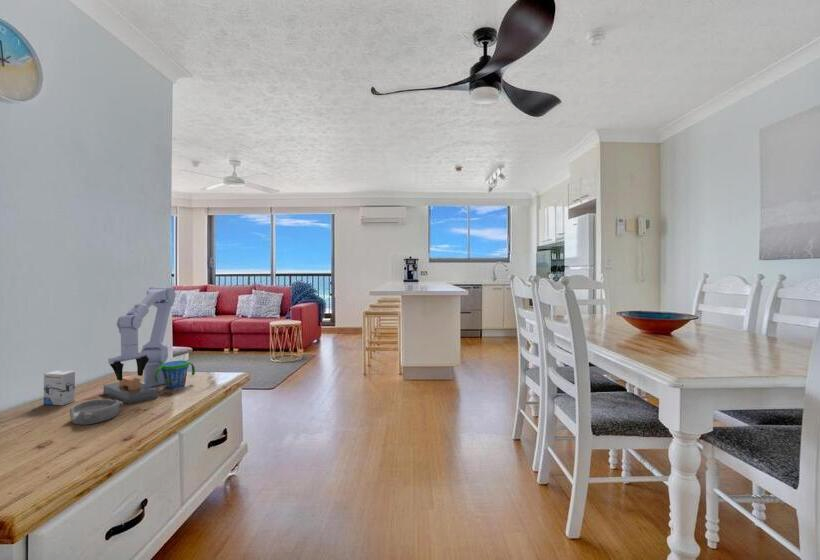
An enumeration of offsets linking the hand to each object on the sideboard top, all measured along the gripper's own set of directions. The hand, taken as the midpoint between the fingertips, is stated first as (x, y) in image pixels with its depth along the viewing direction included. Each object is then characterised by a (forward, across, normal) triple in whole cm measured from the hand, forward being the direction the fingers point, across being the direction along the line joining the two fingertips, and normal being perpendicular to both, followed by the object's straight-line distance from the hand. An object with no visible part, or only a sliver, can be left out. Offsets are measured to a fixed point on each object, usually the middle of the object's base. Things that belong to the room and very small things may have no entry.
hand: (130, 377), depth 160 cm
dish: (+8, +19, +16) cm, 26 cm away
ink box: (+8, +17, -14) cm, 24 cm away
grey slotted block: (+7, 0, 0) cm, 7 cm away
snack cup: (+8, -17, +3) cm, 19 cm away
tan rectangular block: (+7, 0, 0) cm, 7 cm away
